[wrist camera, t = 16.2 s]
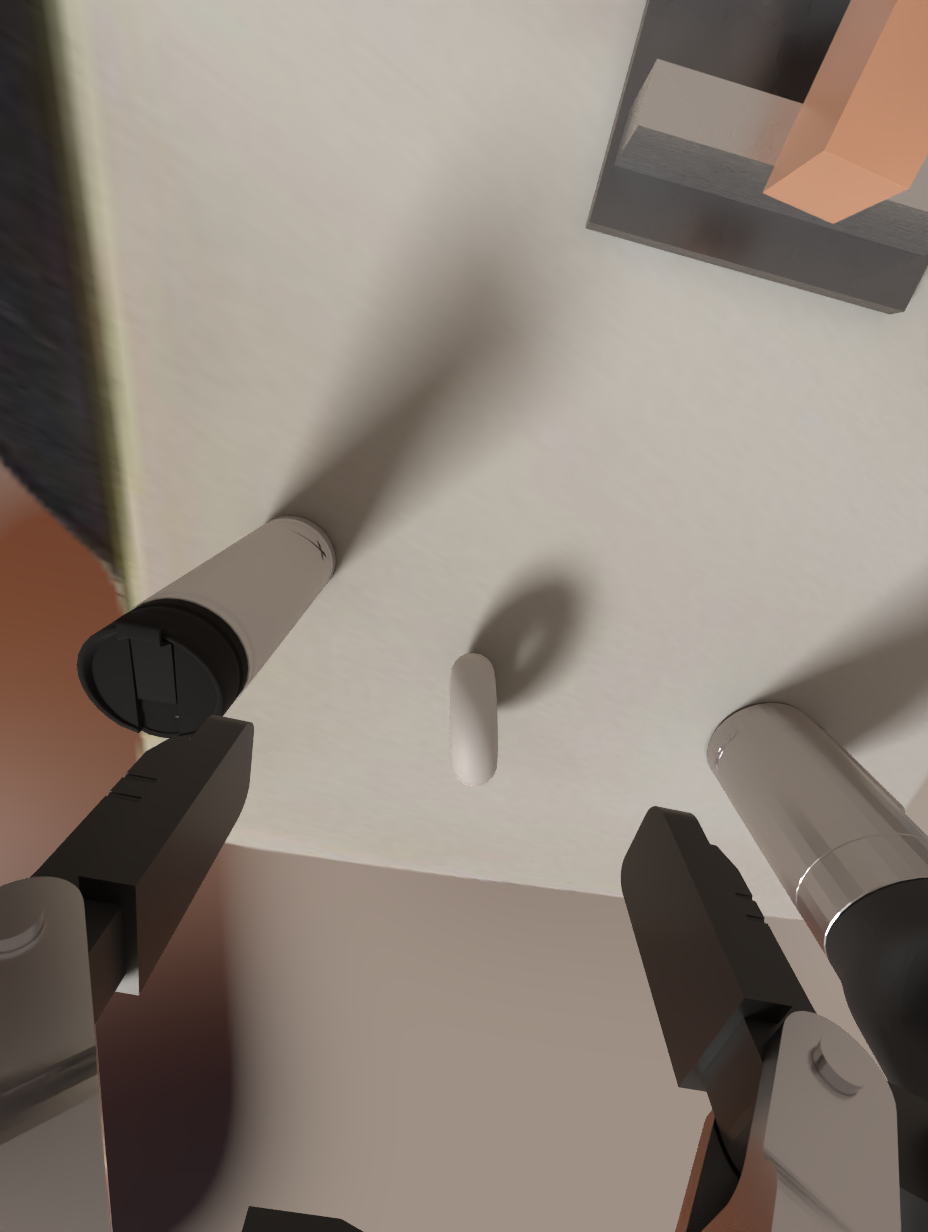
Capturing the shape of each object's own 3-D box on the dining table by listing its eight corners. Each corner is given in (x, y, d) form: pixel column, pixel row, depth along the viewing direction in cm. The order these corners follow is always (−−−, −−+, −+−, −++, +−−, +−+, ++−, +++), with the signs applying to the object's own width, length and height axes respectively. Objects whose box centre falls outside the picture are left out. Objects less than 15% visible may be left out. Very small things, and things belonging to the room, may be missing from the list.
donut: (494, 732, 46) (498, 817, 37) (455, 732, 46) (449, 817, 37) (494, 630, 42) (498, 697, 33) (451, 630, 42) (444, 697, 33)
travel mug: (340, 518, 39) (217, 635, 20) (333, 599, 41) (218, 766, 23) (256, 503, 38) (54, 606, 20) (254, 585, 41) (74, 743, 23)
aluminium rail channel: (1077, -67, 26) (1239, -191, 20) (889, 314, 33) (973, 298, 27) (700, -199, 25) (765, -369, 19) (585, 227, 31) (608, 193, 26)
